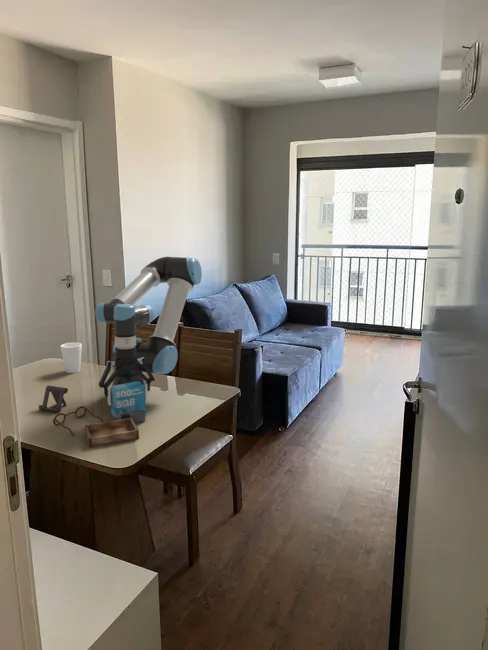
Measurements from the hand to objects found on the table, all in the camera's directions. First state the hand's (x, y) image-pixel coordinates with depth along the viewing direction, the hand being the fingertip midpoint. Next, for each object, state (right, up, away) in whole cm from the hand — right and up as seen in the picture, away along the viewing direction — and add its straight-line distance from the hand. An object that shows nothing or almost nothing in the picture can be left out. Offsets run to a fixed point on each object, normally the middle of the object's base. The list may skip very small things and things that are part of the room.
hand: (127, 401), depth 181 cm
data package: (0, -5, +2) cm, 6 cm away
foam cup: (-39, +6, +53) cm, 66 cm away
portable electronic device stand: (-30, -4, +7) cm, 31 cm away
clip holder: (0, -5, +2) cm, 5 cm away
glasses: (-15, -8, -8) cm, 19 cm away
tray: (-2, -9, -16) cm, 18 cm away
